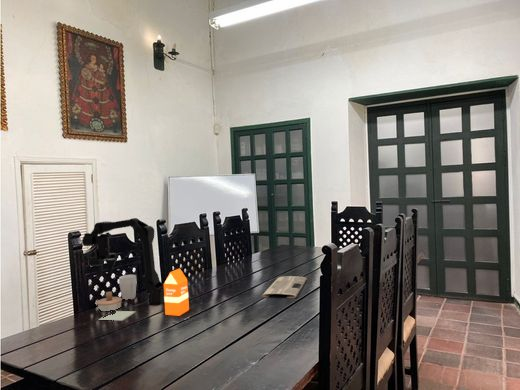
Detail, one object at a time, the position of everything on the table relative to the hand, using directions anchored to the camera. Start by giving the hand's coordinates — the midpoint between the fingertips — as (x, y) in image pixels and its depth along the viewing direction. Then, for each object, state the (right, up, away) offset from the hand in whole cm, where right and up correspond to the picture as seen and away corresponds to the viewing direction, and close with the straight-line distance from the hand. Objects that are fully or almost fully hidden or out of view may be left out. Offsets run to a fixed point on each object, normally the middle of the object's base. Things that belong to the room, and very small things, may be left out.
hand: (104, 275), depth 206 cm
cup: (+10, -14, +7) cm, 19 cm away
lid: (+6, -11, -10) cm, 17 cm away
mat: (+15, -15, -23) cm, 31 cm away
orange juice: (+43, -13, -21) cm, 49 cm away
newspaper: (+95, -10, +12) cm, 97 cm away
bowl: (+7, -15, -10) cm, 19 cm away
